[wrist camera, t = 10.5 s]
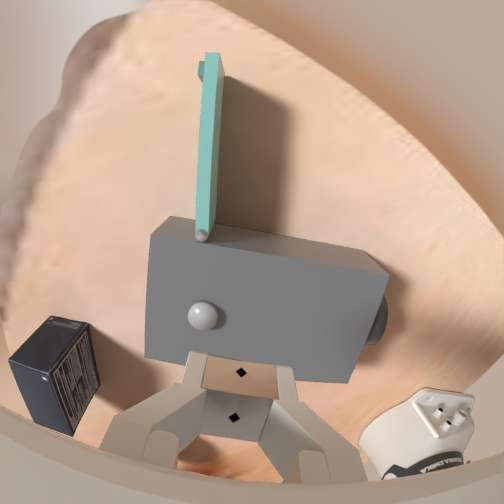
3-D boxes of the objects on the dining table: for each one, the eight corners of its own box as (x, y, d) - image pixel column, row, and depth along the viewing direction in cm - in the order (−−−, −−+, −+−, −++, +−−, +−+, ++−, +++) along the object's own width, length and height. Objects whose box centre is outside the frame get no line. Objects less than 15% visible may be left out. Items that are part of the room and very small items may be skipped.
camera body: (383, 254, 32) (416, 282, 25) (350, 347, 36) (371, 389, 28) (170, 216, 31) (147, 237, 23) (160, 320, 34) (142, 362, 27)
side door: (207, 72, 26) (197, 52, 20) (224, 73, 26) (219, 52, 20) (199, 222, 30) (187, 240, 24) (215, 222, 30) (208, 242, 24)
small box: (47, 313, 34) (4, 357, 24) (89, 321, 34) (49, 372, 24) (63, 375, 37) (32, 423, 27) (101, 385, 37) (74, 439, 27)
